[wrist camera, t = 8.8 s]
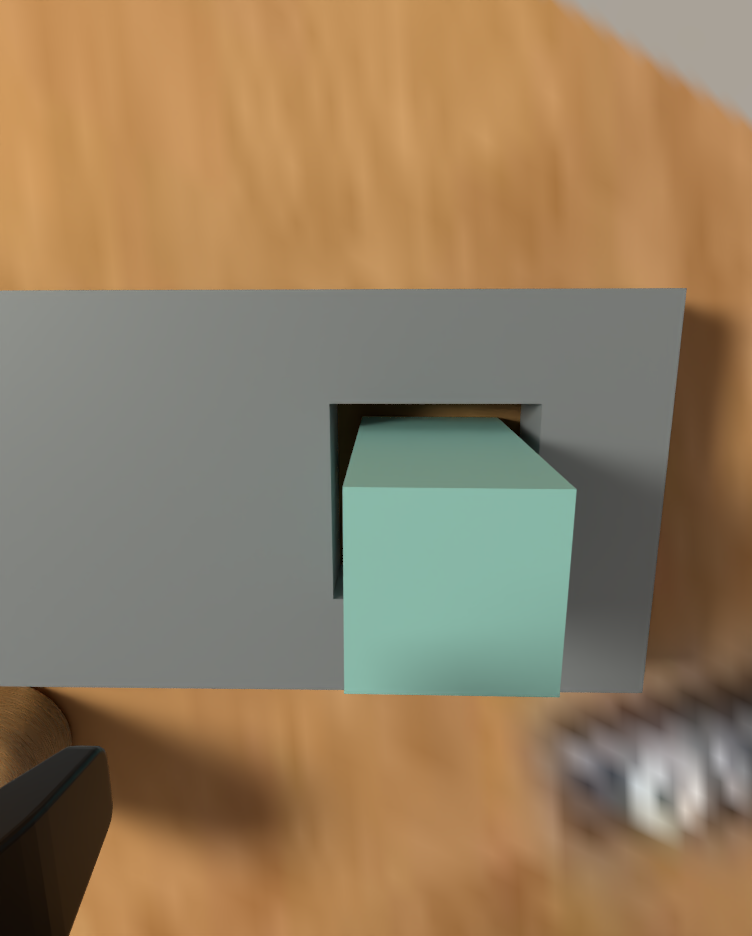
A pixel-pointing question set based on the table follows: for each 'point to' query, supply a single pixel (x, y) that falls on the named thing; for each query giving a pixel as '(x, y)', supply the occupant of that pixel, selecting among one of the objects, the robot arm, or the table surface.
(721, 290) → the table surface
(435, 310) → the plate
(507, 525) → the square peg
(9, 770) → the round peg
